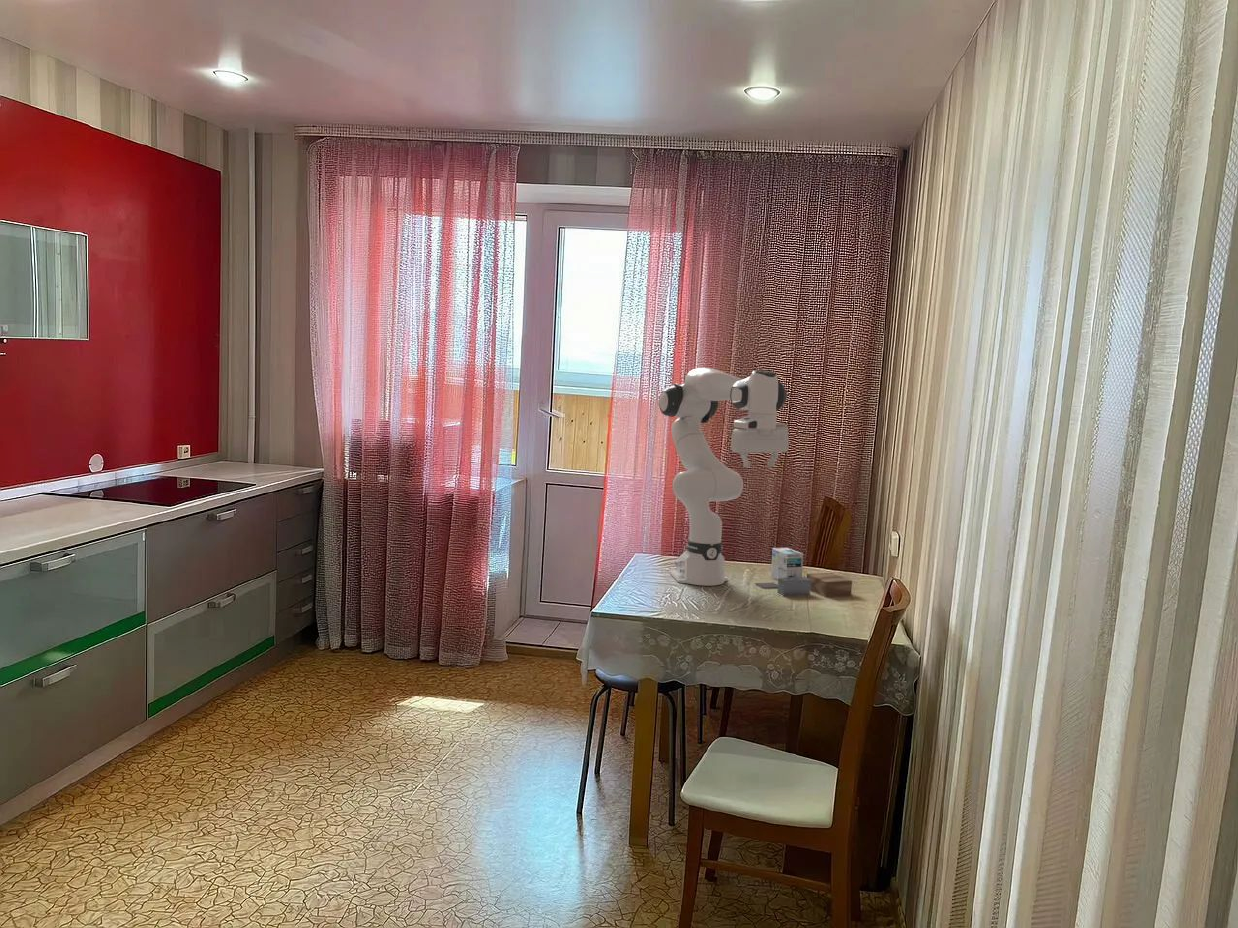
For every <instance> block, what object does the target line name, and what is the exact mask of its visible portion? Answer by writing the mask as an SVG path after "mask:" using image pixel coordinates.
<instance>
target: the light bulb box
mask: <svg viewBox="0 0 1238 928" xmlns="http://www.w3.org/2000/svg"><path fill="white" fill-rule="evenodd" d="M771 551H772V553H771V567H770V578H772V579H774V580H777V581H778V578H788V577H803V563H804V553H803V552H800V551H797V550H794V549H792V548H790V547H772V550H771Z"/></svg>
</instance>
